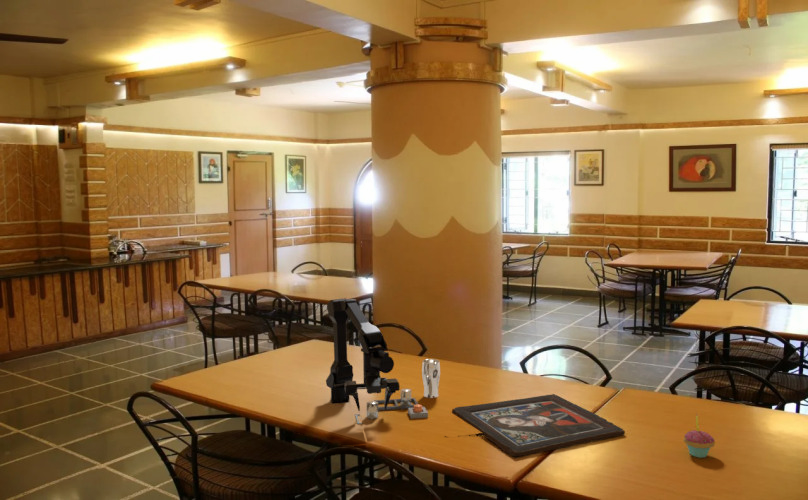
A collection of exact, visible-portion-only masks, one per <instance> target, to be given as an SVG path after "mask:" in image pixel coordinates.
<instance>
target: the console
mask: <svg viewBox="0 0 808 500" xmlns="http://www.w3.org/2000/svg"><path fill="white" fill-rule="evenodd" d="M407 414H408V416H409V417H410V419H411V420H413V419H424V418H425V419H426V418H429V412H428V409H427V408H426V407H425V406H422V412H414V408H408V409H407Z"/></svg>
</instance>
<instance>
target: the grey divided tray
mask: <svg viewBox="0 0 808 500" xmlns="http://www.w3.org/2000/svg"><path fill="white" fill-rule="evenodd" d="M373 401H376V402H378V412H379V411H382V412H383V411H395V410H396V411H397V410H408V408H414V405H417V404H419V402H418V401H417V399H416V397H411V403H413V404H411V405H401V398H392V399H391V398H390V399H389V402H388V404H394V405H387V408H386V409H385V408H384V406H380V405H382V404H383V405H384V401H385V399H375V400H373ZM398 403H400V405H399V404H398Z"/></svg>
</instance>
